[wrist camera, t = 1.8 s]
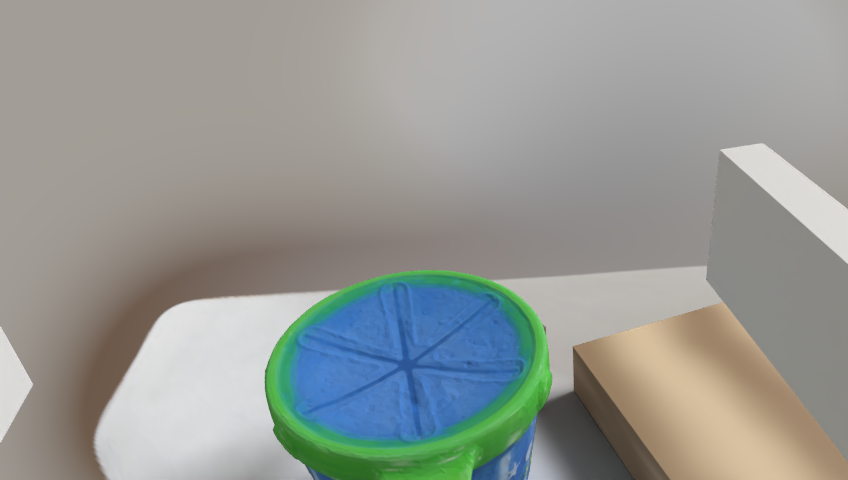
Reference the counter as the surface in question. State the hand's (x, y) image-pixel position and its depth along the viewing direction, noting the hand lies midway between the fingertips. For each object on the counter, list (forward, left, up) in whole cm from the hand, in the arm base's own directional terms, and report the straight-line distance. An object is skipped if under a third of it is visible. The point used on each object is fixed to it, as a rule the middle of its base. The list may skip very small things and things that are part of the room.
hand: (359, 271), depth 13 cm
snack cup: (-2, -9, -20) cm, 22 cm away
